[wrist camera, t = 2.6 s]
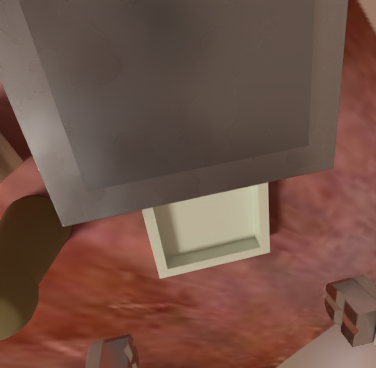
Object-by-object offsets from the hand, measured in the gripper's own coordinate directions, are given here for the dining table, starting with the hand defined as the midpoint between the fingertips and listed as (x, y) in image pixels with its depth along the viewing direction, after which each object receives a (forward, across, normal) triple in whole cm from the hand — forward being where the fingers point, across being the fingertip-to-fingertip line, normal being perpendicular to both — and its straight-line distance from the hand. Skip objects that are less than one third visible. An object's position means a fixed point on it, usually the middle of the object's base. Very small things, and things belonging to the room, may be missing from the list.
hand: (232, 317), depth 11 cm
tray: (+17, -2, +5) cm, 18 cm away
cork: (+17, +14, +3) cm, 22 cm away
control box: (+17, 0, -9) cm, 19 cm away
